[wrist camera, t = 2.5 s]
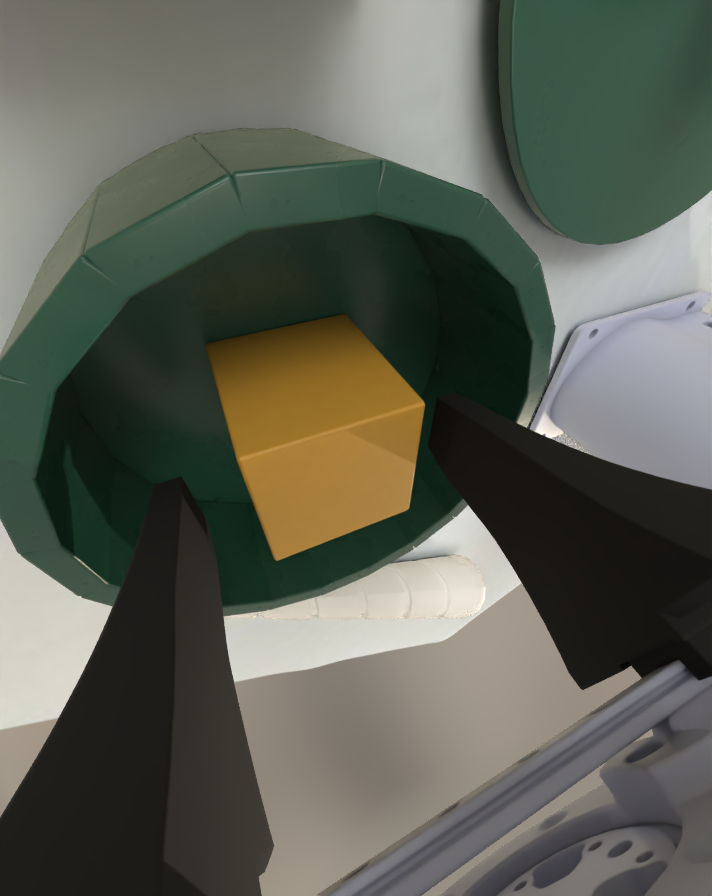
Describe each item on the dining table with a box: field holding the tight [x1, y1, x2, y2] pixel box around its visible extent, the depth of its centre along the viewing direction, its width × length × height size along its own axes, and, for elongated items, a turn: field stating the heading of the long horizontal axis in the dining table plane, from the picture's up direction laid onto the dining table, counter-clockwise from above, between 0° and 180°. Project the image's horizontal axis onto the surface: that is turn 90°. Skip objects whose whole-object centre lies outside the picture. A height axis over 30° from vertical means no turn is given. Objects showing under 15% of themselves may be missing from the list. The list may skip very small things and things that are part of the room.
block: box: [205, 314, 425, 561], centre depth 11 cm, size 4×4×5 cm
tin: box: [0, 128, 555, 617], centre depth 11 cm, size 13×13×5 cm
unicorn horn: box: [224, 555, 486, 619], centre depth 24 cm, size 5×24×5 cm, turn 56°
